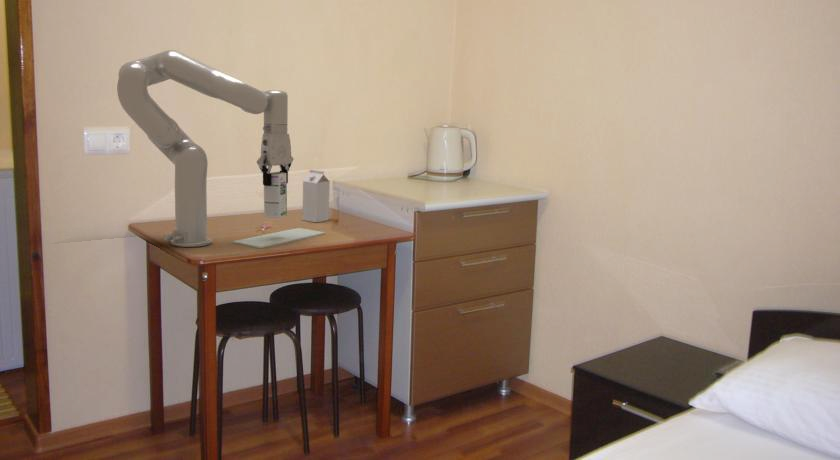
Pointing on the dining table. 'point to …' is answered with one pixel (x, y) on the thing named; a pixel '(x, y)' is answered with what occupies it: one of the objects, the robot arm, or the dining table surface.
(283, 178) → the syrup box
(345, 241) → the dining table surface
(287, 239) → the mat
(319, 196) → the milk carton
